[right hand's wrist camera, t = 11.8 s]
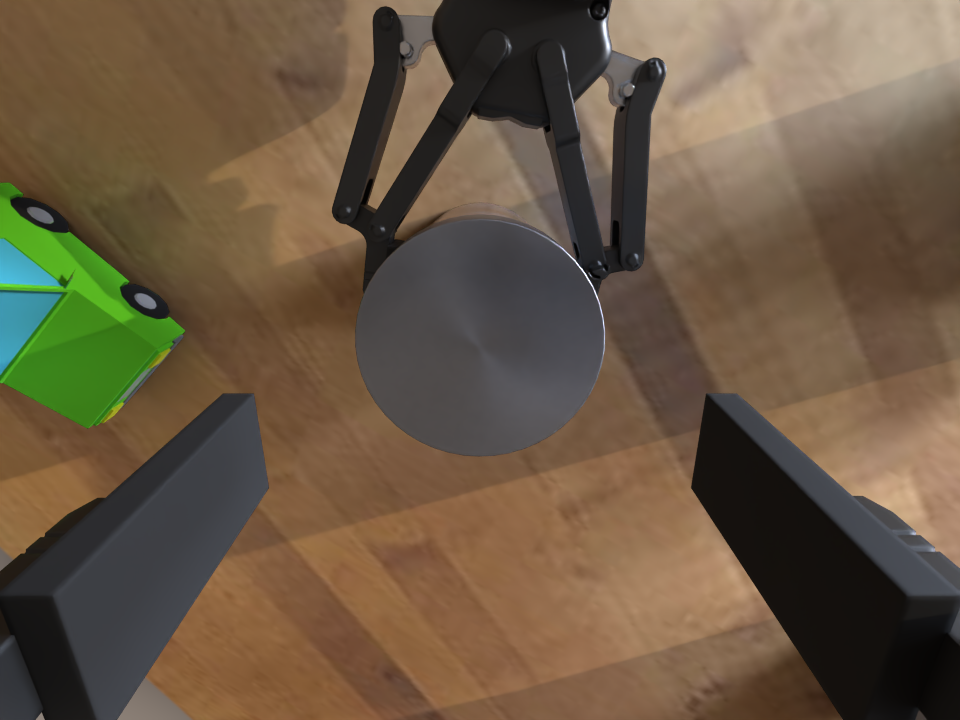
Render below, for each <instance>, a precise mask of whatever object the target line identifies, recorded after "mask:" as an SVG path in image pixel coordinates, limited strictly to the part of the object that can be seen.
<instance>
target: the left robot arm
mask: <svg viewBox="0 0 960 720" xmlns="http://www.w3.org/2000/svg"><path fill="white" fill-rule="evenodd" d="M611 2H612V0H443V1H442V3H441V5H440V6H439V8H438V9H437V11H436V12H435V14H434V16H409V15H397V13H396V12H395V11H394V10H393V9H392V8H390V7H386V6H385V7H380V8H379V9H378V10H376V12H375V14H374V16H373V44H374V66H373V69H372V73H371V76H370V80H369V83H368V87H367V90H366V93H365V97H364V100H363V104H362V107H361V111H360V114H359V117H358V121H357V124H356V128H355V131H354V135H353V138H352V142H351V145H350V148H349V152H348V155H347V159H346V162H345V166H344V169H343V173H342V176H341V179H340V183H339V186H338V190H337V193H336V197H335V200H334V203H333V207H332V214H333V217H334V218H335V219H336V221H338V222H339V223H342V224H347V225H349V226H350V227H352V228H354V229H356V230H358V231H359V232H361V233H362V235H363V236H364V237H365V239H366V243H367V248H366V260H365V272H364V282H363V292H364V293H365V291H366V288H367V286H368V284H369V282H370V281H371V279H372V278H373V276H374V274H375V273H376V271H377V270H378V269H379V267H380V266H381V265H382V264H383V263H384V261H385V260H386V259H387V258H388V257H389V256H390V255H391V254H392V253H393V252H394V251H395V250H396V249H397V248H398V247H399V246H400V245H401V244H402V243H403V242H405V241H402V240H396V239H395V240H394V238H395V233H396V232H397V229H398V227H399V226H400V224H401V223H402V221H403V220H404V218H405V216H406V215H407V213H408V212H409V210H410V209H411V207H412V206H413V204H414V202H415V201H416V199H417V198H418V196H419V195H420V193H421V192H422V190H423V188H424V187H425V185H426V184H427V182H428V181H429V179H430V178H431V176H432V174H433V173H434V171H435V170H436V168H437V167H438V165H439V164H440V162H441V160H442V159H443V157H444V156H445V154H446V153H447V151H448V149H449V148H450V146H451V145H452V143H453V142H454V140H455V139H456V137H457V136H458V134H459V133H460V131H461V130H462V129H463V127H464V126H465V124H466V123H467V121H468V119H469V118H470V116H471V115H472V114H473V115H474V116H476V117H478V119H482V120H487V121H501V120H510V121H512V122H514V123H516V124H518V125H520V126H522V127H526V128H532V129H538V128H542V127H543V130H544V134H545V138H546V142H547V145H548V148H549V150H550V154H551V158H552V162H553V166H554V170H555V175H556V179H557V183H558V187H559V191H560V195H561V200H562V204H563V208H564V212H565V216H566V221H567V225H568V229H569V233H570V237H571V241H572V246H573V250H574V254H575V258H576V262H577V263H578V265H579V266H580V267H581V269H582V270H583V271H584V272H585V274H586V276H587V277H588V279H589V281H590V282H591V284H592V286H593V288H594V290H595V293H596V295H597V296H598V292H599V288H600V284H601V281H602V280H603V279H605V278H606V277H607V276H608V275H609V274H610V273H614V272H619V271H625V270H627V271H635V270H637V269H639V268H640V267H641V265H642V264H643V260H644V244H645V224H646V205H647V186H648V167H649V147H650V128H651V114H652V111H653V108H654V106H655V103H656V100H657V98H658V95H659V92H660V90H661V87H662V84H663V82H664V79H665V76H666V71H667V70H666V65H665V63H664V62H663V61H662V60H661V59H659V58H651V59H648V60H647V61H645V62H644V61H641V60H638V59H635V58H632V57H629V56H627V55H624V54H621V53H618V52H615V51H613V50H612V45H611V41H610V37H609V32H608V17H609V11H610V6H611ZM430 45H436V47H437V49H438V51H439V53H440V55H441V57H442V60H443V62H444V64H445V66H446V68H447V70H448V73H449V75H450V77H451V79H452V81H453V83H454V84H453V86H452V87H451V89H450V91H449V92H448V94H447V95H446V97H445V99H444V100H443V102H442V104H441V105H440V107H439V109H438V111H437V113H436V115H435V117H434V119H433V120H432V122H431V124H430V125H429V127H428V128H427V130H426V132H425V133H424V135H423V136H422V138H421V140H420V141H419V143H418V144H417V146H416V148H415V149H414V151H413V153H412V154H411V156H410V157H409V159H408V161H407V162H406V164H405V165H404V167H403V169H402V170H401V172H400V173H399V175H398V177H397V178H396V180H395V182H394V183H393V185H392V186H391V188H390V190H389V191H388V193H387V194H386V196H385V198H384V199H383V201H382V202H381V204H380V206H379V207H378V209H377V210H376V209H374V208H373V207H371V206H369V205H368V201H369V198H370V195H371V192H372V189H373V185H374V182H375V179H376V176H377V173H378V169H379V166H380V163H381V160H382V157H383V153H384V150H385V147H386V144H387V141H388V137H389V134H390V131H391V128H392V125H393V121H394V118H395V115H396V112H397V109H398V105H399V102H400V99H401V96H402V93H403V89H404V85H405V79H406V72H407V69H413V68H415V67H416V66H417V65H418V64H419V63H420V60H421V56H422V53H423V51H424V49H425V48H426V47H428V46H430ZM600 76H602V77H604V78H605V79H606V80H607V82H608V85H609V94H608V97H609V101H610V103H611V104H612V105H613V106H615V107H617V110H616V114H615V120H614V131H613V165H612V198H611V232H610V246H605V247H603V243H602V239H601V234H600V230H599V225H598V221H597V216H596V212H595V207H594V203H593V198H592V194H591V189H590V184H589V180H588V175H587V171H586V166H585V162H584V157H583V153H582V148H581V143H580V130H579V125H578V121H577V116H576V112H575V107H574V103H575V102H576V101H577V99H578V98H579V97H580V96H581V95H582V94H583V93H584V92H585V91H586V90H587V89H588V88H589V87H590V86H591V85H592V84H593V83H594V82H595V81H596V80H597V79H598V78H599V77H600Z"/></svg>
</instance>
